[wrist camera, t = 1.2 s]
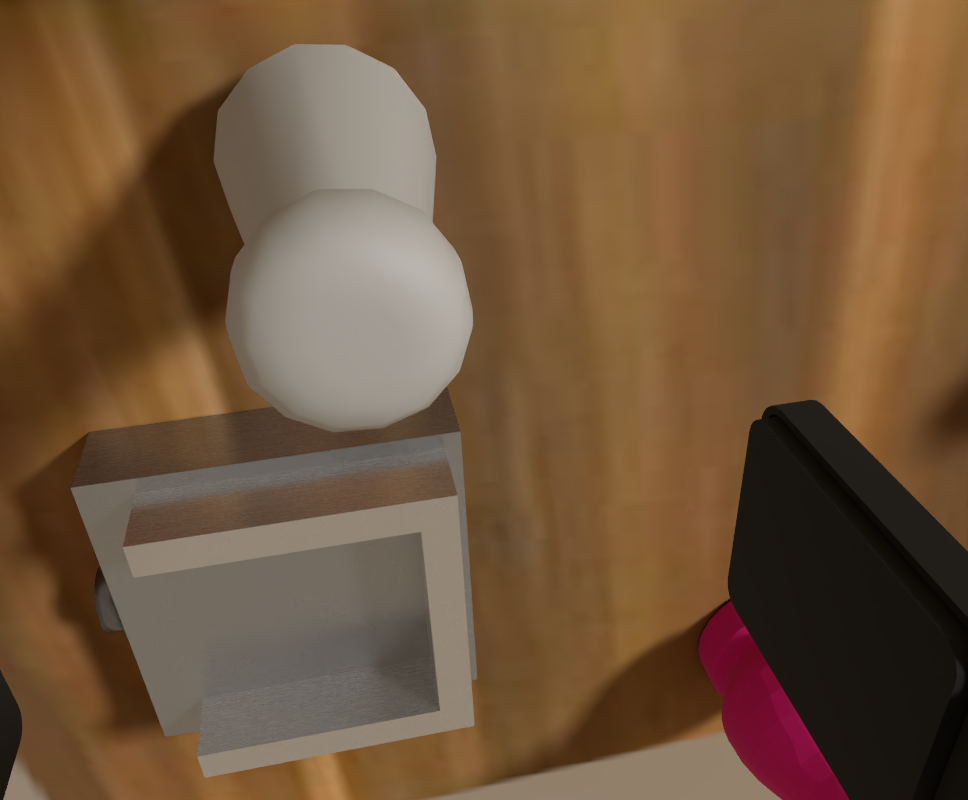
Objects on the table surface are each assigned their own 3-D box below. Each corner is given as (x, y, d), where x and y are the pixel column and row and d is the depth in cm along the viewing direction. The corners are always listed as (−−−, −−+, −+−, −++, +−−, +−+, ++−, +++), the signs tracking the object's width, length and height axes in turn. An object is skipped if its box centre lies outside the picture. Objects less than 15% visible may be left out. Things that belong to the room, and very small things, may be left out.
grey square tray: (63, 436, 29) (21, 547, 24) (446, 383, 30) (474, 478, 26) (153, 678, 35) (133, 801, 31) (464, 623, 37) (489, 732, 32)
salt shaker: (231, 231, 26) (193, 500, 15) (205, 26, 23) (138, 183, 12) (424, 224, 27) (516, 472, 16) (424, 28, 24) (537, 174, 13)
